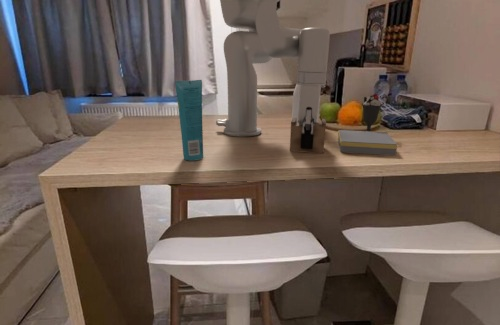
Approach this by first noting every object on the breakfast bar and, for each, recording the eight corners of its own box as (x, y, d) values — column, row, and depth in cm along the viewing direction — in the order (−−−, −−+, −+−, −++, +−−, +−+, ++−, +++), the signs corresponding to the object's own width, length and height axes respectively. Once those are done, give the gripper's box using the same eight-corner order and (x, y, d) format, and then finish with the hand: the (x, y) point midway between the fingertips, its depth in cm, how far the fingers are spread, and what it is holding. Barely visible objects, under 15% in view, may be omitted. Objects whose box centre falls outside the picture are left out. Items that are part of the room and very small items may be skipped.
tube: (198, 153, 86) (194, 78, 80) (210, 156, 83) (208, 79, 77) (175, 159, 81) (169, 80, 75) (187, 163, 78) (183, 81, 72)
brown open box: (289, 150, 89) (291, 122, 86) (291, 144, 95) (293, 117, 92) (323, 153, 87) (325, 123, 84) (323, 146, 93) (325, 119, 90)
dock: (339, 152, 88) (340, 141, 87) (337, 139, 101) (338, 129, 100) (395, 155, 85) (397, 144, 84) (385, 142, 99) (386, 132, 98)
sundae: (380, 138, 103) (387, 90, 98) (358, 137, 104) (364, 89, 100) (377, 133, 109) (383, 87, 104) (356, 132, 110) (361, 87, 106)
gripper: (299, 76, 94) (295, 136, 99) (294, 81, 77) (290, 153, 83) (325, 77, 92) (320, 138, 98) (326, 82, 76) (320, 155, 82)
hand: (307, 144), depth 91 cm, fingers closed on brown open box, 6 cm apart
